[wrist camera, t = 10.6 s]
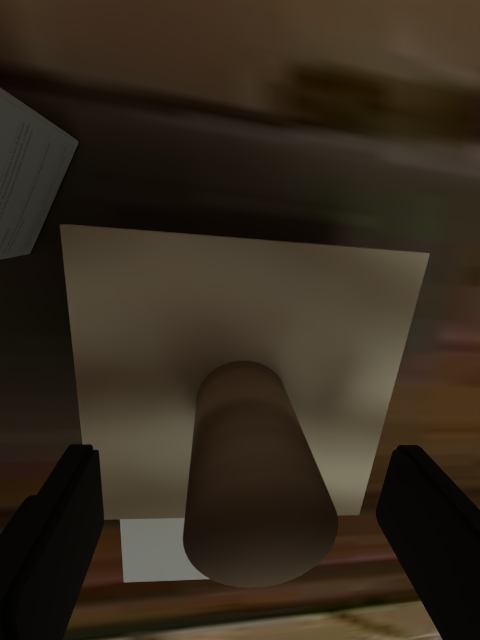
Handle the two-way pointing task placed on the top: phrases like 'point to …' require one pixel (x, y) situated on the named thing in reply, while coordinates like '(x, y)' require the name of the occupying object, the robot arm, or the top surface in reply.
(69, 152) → the supplement box
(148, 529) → the mat
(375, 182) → the top surface
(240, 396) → the lid
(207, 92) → the top surface
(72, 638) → the top surface
